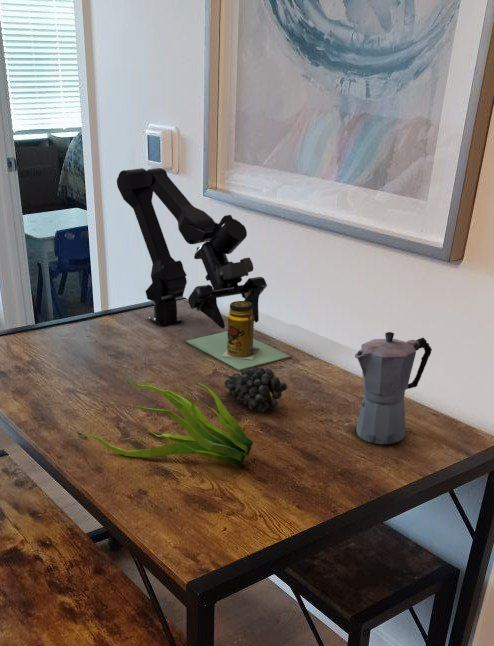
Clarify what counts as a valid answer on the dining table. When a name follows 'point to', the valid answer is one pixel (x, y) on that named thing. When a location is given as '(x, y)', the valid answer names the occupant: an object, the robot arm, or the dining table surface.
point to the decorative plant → (195, 432)
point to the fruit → (256, 388)
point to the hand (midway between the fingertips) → (240, 324)
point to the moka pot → (387, 386)
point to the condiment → (240, 331)
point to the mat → (217, 348)
